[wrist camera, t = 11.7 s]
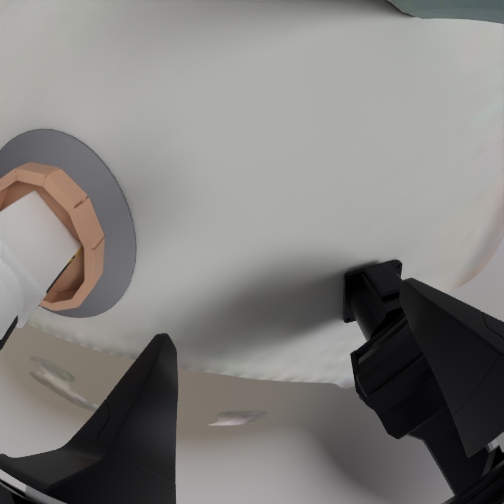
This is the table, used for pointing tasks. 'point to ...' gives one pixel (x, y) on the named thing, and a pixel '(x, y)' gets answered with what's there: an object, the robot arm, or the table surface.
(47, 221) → the medicine bottle
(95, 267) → the terracotta bowl
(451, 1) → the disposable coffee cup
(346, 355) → the table surface
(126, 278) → the rubber mat
